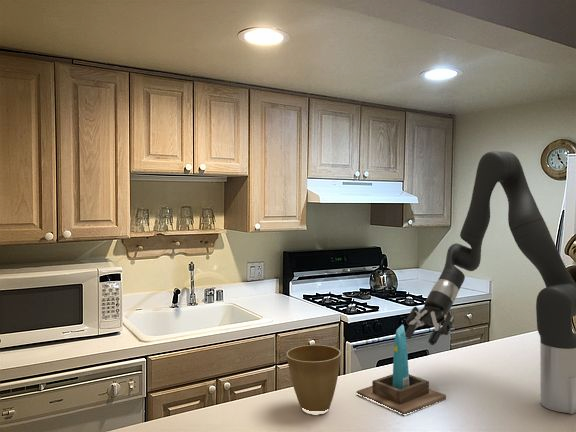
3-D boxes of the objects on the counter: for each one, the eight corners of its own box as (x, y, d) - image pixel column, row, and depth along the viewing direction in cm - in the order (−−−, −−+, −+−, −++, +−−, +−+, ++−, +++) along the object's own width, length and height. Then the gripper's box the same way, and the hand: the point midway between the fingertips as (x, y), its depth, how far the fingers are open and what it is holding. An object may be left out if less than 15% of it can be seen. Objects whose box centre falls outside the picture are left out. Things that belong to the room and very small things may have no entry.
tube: (394, 386, 144) (394, 323, 144) (411, 388, 143) (410, 324, 142) (390, 396, 138) (389, 329, 137) (407, 398, 136) (406, 331, 135)
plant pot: (327, 395, 142) (326, 341, 142) (351, 416, 128) (350, 356, 128) (279, 403, 137) (278, 348, 136) (299, 426, 123) (298, 364, 122)
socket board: (446, 399, 138) (446, 382, 138) (404, 416, 127) (404, 398, 127) (397, 380, 152) (397, 366, 152) (356, 395, 142) (356, 379, 142)
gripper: (417, 286, 155) (394, 328, 148) (456, 293, 143) (433, 338, 137) (428, 300, 158) (405, 342, 151) (467, 308, 147) (444, 353, 140)
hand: (418, 340), depth 144 cm, fingers open, 8 cm apart
